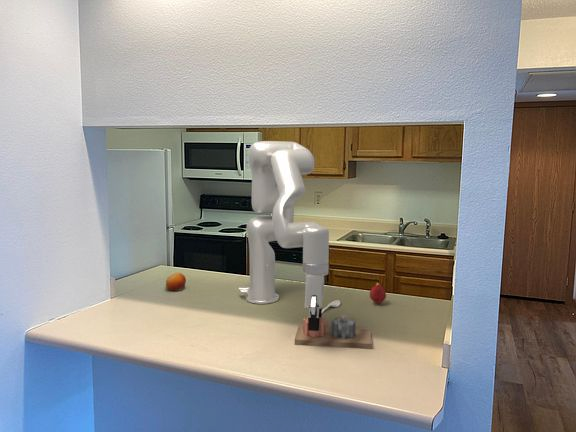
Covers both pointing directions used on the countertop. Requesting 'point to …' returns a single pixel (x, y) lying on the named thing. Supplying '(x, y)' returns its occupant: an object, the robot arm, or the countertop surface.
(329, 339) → the gear board
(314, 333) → the pink gear
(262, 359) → the countertop surface
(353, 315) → the countertop surface
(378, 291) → the onion
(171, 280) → the fruit
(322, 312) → the spoon
